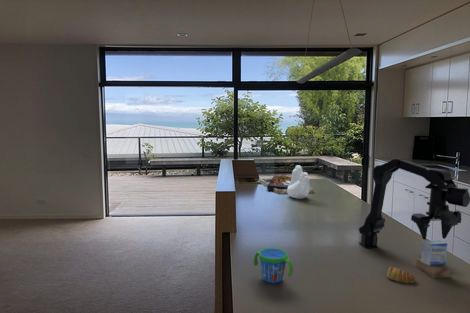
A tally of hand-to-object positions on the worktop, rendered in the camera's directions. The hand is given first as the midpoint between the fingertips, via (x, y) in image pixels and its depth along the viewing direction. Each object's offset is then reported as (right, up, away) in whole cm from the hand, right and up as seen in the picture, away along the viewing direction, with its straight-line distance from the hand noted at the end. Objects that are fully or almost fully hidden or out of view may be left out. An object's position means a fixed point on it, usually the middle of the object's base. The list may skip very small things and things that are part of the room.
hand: (434, 238), depth 139 cm
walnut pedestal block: (-1, -13, -1) cm, 13 cm away
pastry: (-18, -14, -8) cm, 24 cm away
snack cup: (-66, -13, -11) cm, 68 cm away
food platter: (-36, +7, +167) cm, 171 cm away
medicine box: (-1, -10, -1) cm, 10 cm away
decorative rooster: (-32, +1, +123) cm, 127 cm away
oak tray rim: (-36, +6, +166) cm, 171 cm away
